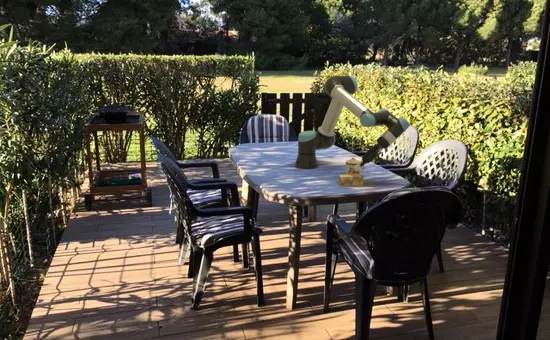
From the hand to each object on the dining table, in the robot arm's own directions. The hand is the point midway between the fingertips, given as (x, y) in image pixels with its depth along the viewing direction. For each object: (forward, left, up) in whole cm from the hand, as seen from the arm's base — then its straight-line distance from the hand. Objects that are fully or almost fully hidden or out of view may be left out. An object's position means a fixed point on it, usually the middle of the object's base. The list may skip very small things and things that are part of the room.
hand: (355, 169), depth 249 cm
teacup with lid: (-20, -5, -9) cm, 23 cm away
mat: (0, +1, -9) cm, 9 cm away
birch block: (-2, +4, -6) cm, 7 cm away
